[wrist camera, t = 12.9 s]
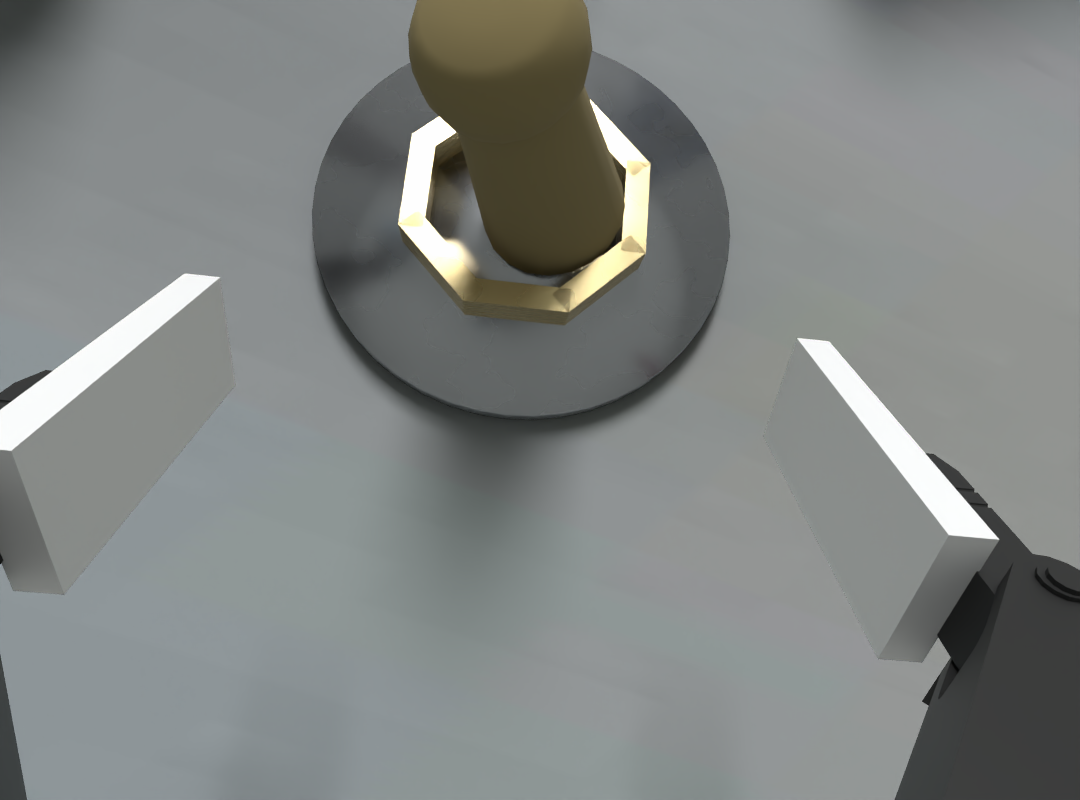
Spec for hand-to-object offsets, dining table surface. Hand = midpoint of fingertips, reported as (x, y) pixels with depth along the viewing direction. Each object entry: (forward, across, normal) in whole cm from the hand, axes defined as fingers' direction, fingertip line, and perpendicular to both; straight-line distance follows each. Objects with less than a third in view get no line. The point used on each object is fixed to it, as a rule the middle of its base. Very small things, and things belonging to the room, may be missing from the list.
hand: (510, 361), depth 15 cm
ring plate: (+15, 0, -1) cm, 15 cm away
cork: (+14, +1, 0) cm, 14 cm away
